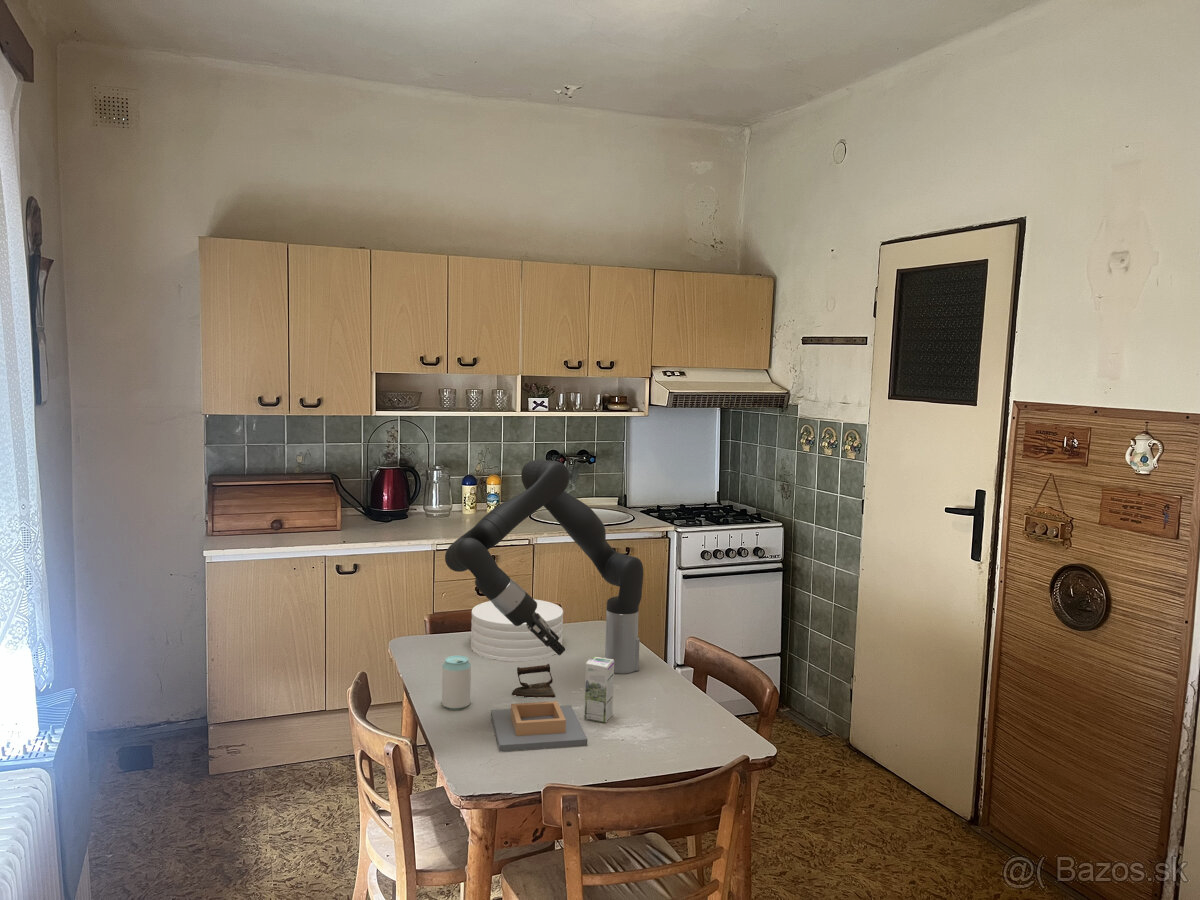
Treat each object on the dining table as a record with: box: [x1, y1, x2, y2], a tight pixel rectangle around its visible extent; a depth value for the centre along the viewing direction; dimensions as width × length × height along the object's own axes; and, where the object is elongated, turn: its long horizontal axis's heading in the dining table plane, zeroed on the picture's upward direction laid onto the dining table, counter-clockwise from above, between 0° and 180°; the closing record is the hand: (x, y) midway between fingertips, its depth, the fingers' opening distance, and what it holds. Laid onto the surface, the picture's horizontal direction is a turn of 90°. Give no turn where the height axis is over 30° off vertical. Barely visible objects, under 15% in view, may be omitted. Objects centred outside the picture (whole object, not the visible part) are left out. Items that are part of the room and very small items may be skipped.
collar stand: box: [490, 700, 588, 752], centre depth 199 cm, size 20×20×4 cm
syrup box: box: [583, 656, 615, 724], centre depth 207 cm, size 6×6×14 cm
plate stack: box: [470, 598, 564, 662], centre depth 260 cm, size 28×28×12 cm
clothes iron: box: [511, 663, 556, 698], centre depth 222 cm, size 7×11×10 cm, turn 105°
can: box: [441, 655, 472, 710], centre depth 213 cm, size 7×7×12 cm
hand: (559, 646), depth 204 cm, fingers open, 8 cm apart
